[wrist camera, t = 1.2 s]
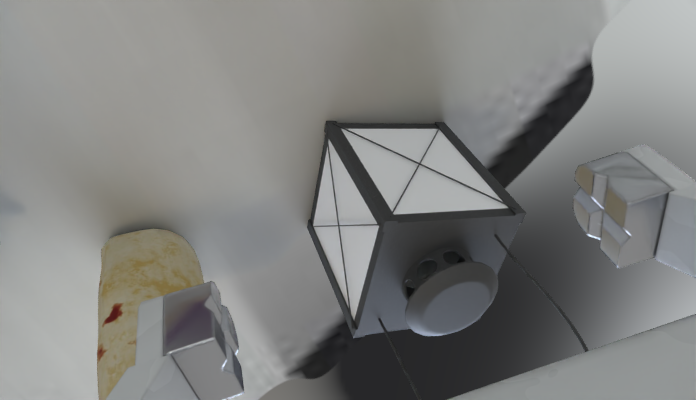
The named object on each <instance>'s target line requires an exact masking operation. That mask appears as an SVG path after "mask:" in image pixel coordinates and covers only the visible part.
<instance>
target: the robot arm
mask: <svg viewBox="0 0 696 400" xmlns="http://www.w3.org/2000/svg"><path fill="white" fill-rule="evenodd" d="M575 182H577V184H578V185H579V186H580V188H579V189H578V190H577V192H576V193H575V195H574V196H573V211H574V214H575V218H576V220H577V222H578V224H579V226H580V227H581V229H582V230H583V231H584V232H585V233H586V234H587V235H588V236H590V237H593V238H596V239H599V240H600V250H601V251H602V252H603V253H604V254H605V255H606V256H607V257H608V258H609V259H610V260H611V261H612V263H613V264H614V265H615V266H616V267H617V268H618V269H619V268H622V267H625V266H629V265H632V264H635V263H639V262H642V261H645V260H648V259H652V258H655V260H657V261H659V262H661V263H664V264H666V265H668V266H670V267H672V268H675V269H677V270H679V271H681V272H683V273H685V274H688V275H690V276H692V277H694V278H696V181H695V180H693V179H692V178H690V176H688V175H687V174H686V173H684V172H683V171H682V170H680V169H679V168H678V167H677V166H675V165H674V164H673V163H671V162H670V161H669V160H667V159H666V158H665V157H663V156H662V155H661V154H659V153H658V152H657V151H655V150H654V149H653V148H651V147H650V146H648V145H644V144H642V145H639V146H636V147H633V148H630V149H627V150H624V151H621V152H619V153H615V154H612V155H609V156H606V157H603V158H600V159H597V160H594V161H591V162H587V163H585V164H581V165H579V166H578V167H577V169H576V171H575ZM238 350H239V346H238V339H237V335H236V331H235V327H234V323H233V321H232V318H231V315H230V313H229V311H228V309H227V307H225V306H223V305H221V298H220V292H219V290H218V288H217V286H216V284H215V283H214V282H213V281H210V282H206V283H203V284H200V285H196V286H193V287H189V288H186V289H182V290H179V291H175V292H172V293H169V294H165V295H164V296H160V297H157V298H153V299H150V300H146V301H143V302H141V304H140V306H139V308H138V320H137V337H136V355H135V366H132V367H129V368H127V370H126V371H125V372H124V374H123V375H122V377H121V378H120V380H119V381H118V382H117V384H116V385H115V387H114V388H113V389H112V391H111V392H110V394H109V395H108V397H107V398H106V399H105V400H227V399H230V398H233V397H235V396H238V395H241V394H244V387H243V378H242V370H241V365H240V363H239V361H238V359H237V357H236V354H237V352H238ZM447 400H696V314H694V315H691V316H688V317H686V318H682V319H679V320H676V321H674V322H671V323H668V324H665V325H662V326H659V327H656V328H653V329H650V330H647V331H645V332H642V333H639V334H636V335H633V336H630V337H627V338H624V339H621V340H619V341H616V342H613V343H610V344H607V345H604V346H601V347H598V348H595V349H592V350H589V351H587V352H584V353H581V354H578V355H575V356H573V357H569V358H566V359H564V360H561V361H558V362H555V363H552V364H549V365H546V366H543V367H540V368H537V369H535V370H531V371H529V372H526V373H523V374H520V375H517V376H514V377H511V378H508V379H506V380H502V381H500V382H497V383H494V384H491V385H488V386H485V387H482V388H479V389H476V390H473V391H471V392H468V393H465V394H462V395H459V396H456V397H453V398H450V399H447Z"/></svg>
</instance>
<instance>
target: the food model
mask: <svg viewBox="0 0 696 400" xmlns="http://www.w3.org/2000/svg"><path fill="white" fill-rule="evenodd" d="M101 258H102V269H101V276H100V284H99V295H98V325H99V327H98V350H97V376H98V394H99V400H105V399H106V398H107V397H108V395H109V394H110V392H111V391H112V389H113V388H114V387H115V385H116V384H117V382H118V381H119V380H120V378H121V377H122V375H123V374H124V372H125V371H126V370H127V368H129V367H132V366H135V355H136V337H137V320H138V308H139V306H140V304H141V302H143V301H146V300H150V299H153V298H157V297H160V296H164V295H165V294H169V293H172V292H175V291H179V290H182V289H186V288H189V287H193V286H196V285H200V284H203V283H204V280H203V275H202V271H201V267H200V264H199V261H198V258H197V256H196V253H195V251H194V249H193V248H192V247H191V246H190V244H189V243H188V242H187V241H186V240H185V239H184V238H183V237H181V236H179V235H177V234H175V233H173V232H171V231H169V230H162V229H155V228H154V229H146V230H140V231H135V232H130V233H126V234H122V235H119V236H115V237H112V238H111V239H109V240H108V241H107V242H106V243H105V245H104V246H103V248H102V249H101ZM227 400H228V399H227Z"/></svg>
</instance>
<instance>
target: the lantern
mask: <svg viewBox="0 0 696 400" xmlns="http://www.w3.org/2000/svg"><path fill="white" fill-rule="evenodd" d="M324 131H325V133H326V135H325V141H324V146H323V152H322V157H321V163H320V169H319V174H318V180H317V185H316V191H315V197H314V202H313V208H312V214H311V219H310V220H308V226H307V228H308V230H309V233H310V235H311V238H312V240H313V242H314V245H315V247H316V250H317V252H318V254H319V257H320V259H321V261H322V264H323V266H324V269H325V271H326V273H327V276H328V278H329V281H330V283H331V285H332V288H333V290H334V292H335V295H336V297H337V300H338V302H339V304H340V307H341V309H342V312H343V314H344V316H345V319H346V321H347V323H348V326H349V328H350V331H351V333H352V335H353V338H357V337H364V336H365V335H367V334H374V333H381V332H385V334H386V336H387V338H388V340H389V342H390V344H391V346H392V348H393V350H394V352H395V354H396V356H397V358H398V360H399V362H400V364H401V366H402V368H403V370H404V372H405V374H406V376H407V378H408V380H409V382H410V384H411V386H412V388H413V390H414V392H415V394H416V396H417V398H418V400H422V399H421V397H420V395H419V393H418V391H417V389H416V387H415V385H414V383H413V381H412V380H411V378H410V376H409V374H408V372H407V370H406V368H405V366H404V364H403V362H402V360H401V358H400V356H399V354H398V352H397V350H396V348H395V346H394V344H393V342H392V340H391V338H390V336H389V334H388V331H395V330H403V329H410V328H411V329H412V330H413V331H414V332H416V333H419V334H421V335H424V336H440V335H445V334H449V333H453V332H457V331H460V330H462V329H463V328H465V327H468V326H469V325H471V324H472V323H473V322H475V321H479V320H480V317H481V315H482V314H483V313H484V312H485V311H486V309H487V308H488V307H489V306H490V304H491V303H492V302H493V299H494V297H495V295H496V293H497V290H498V277H497V274H498V272H499V269H500V267H501V265H502V263H503V260H504V258H505V256H506V253H508V254H509V255H510V257H511V258H512V259H513V260H514V261H515V262H516V263H517V264H518V266H519V267H520V268H521V269H522V270H523V271H524V272H525V273H526V274H527V276H528V277H529V278H530V279H531V280H532V281H533V282H534V283H535V284H536V285H537V287H538V288H539V289H540V290H541V291H542V292H543V293H544V294H545V295H546V296H547V298H548V299H549V300H550V301H551V303H552V304H553V305H554V306H555V307H556V308H557V310H558V311H559V312H560V314H561V315H562V316H563V318H564V319H565V320H566V321H567V323H568V324H569V326H570V327H571V328H572V330H573V332H574V333H575V334H576V336H577V338H578V339H579V341H580V343H581V345H582V347H583V349H584V350H585V352H587V351H589V350H588V348H587V347H586V345H585V343H584V341H583V339H582V338H581V336H580V334H579V333H578V331H577V330H576V328H575V327H574V326H573V324H572V323H571V321H570V320H569V319H568V317H567V316H566V315H565V313H564V312H563V311H562V309H561V308H560V307H559V306H558V305H557V303H556V302H555V301H554V300H553V299H552V298H551V296H550V295H549V294H548V293H547V292H546V291H545V290H544V289H543V287H542V286H541V285H540V284H539V283H538V282H537V281H536V279H535V278H534V277H533V276H532V275H531V274H530V273H529V272H528V271H527V270H526V269H525V268H524V267H523V266H522V265H521V264H520V262H519V261H518V260H517V259H516V258H515V257H514V256H513V254H512V253H511V252H510V251H509V250H508V249H509V247H510V244H511V242H512V240H513V238H514V235H515V233H516V231H517V228H518V226H519V224H520V223H522V222H523V219H524V217H525V215H526V212H525V211H524V210H523V209H522V208H521V207H520V206H519V204H518V203H517V202H516V201H515V200H514V199H513V198H512V197H511V196H510V194H509V193H508V192H507V191H506V190H505V189H504V188H503V187H502V186H501V185H500V183H499V182H498V181H497V180H496V179H495V178H494V177H493V176H492V175H491V174H490V172H489V171H488V170H487V169H486V168H485V167H484V166H483V165H482V164H481V162H480V161H479V160H478V159H477V158H476V157H475V156H474V155H473V154H472V153H471V151H470V150H469V149H468V148H467V147H466V146H465V145H464V144H463V143H462V142H461V140H460V139H459V138H458V137H457V136H456V135H455V134H454V133H453V132H452V131H451V129H450V128H449V127H448V126H447V125H446V124H445V123H444V122H435V124H354V123H337V122H336V121H326V125H325V130H324Z"/></svg>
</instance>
